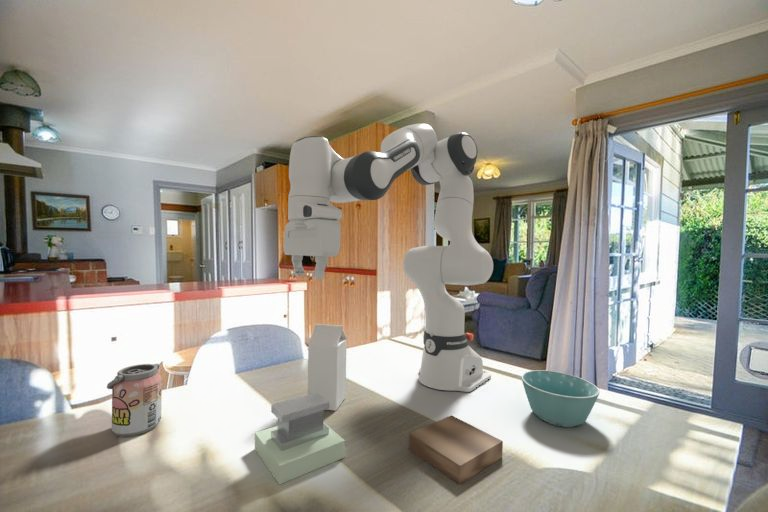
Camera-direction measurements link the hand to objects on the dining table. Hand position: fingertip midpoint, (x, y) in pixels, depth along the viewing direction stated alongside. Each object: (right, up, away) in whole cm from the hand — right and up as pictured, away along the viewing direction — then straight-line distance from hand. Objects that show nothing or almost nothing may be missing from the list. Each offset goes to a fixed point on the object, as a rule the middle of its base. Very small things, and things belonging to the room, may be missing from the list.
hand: (308, 277), depth 73 cm
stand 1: (+1, -31, -11) cm, 33 cm away
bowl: (+56, -33, +5) cm, 65 cm away
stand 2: (+29, -32, -10) cm, 45 cm away
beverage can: (-35, -31, -4) cm, 46 cm away
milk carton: (+3, -31, +9) cm, 33 cm away
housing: (+1, -28, -11) cm, 30 cm away
